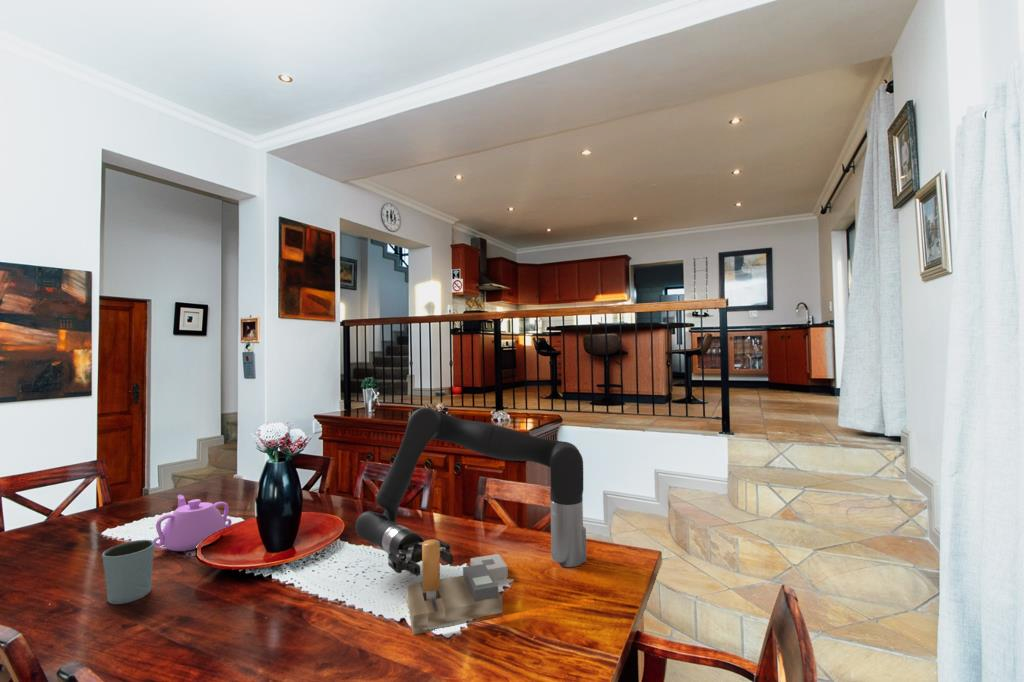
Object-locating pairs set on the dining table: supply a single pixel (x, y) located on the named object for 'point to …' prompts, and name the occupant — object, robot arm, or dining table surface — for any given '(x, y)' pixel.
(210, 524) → the teapot
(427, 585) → the awl
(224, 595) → the dining table surface
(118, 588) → the grey cup
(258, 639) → the dining table surface
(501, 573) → the awl stand
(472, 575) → the block
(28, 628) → the dining table surface
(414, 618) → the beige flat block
